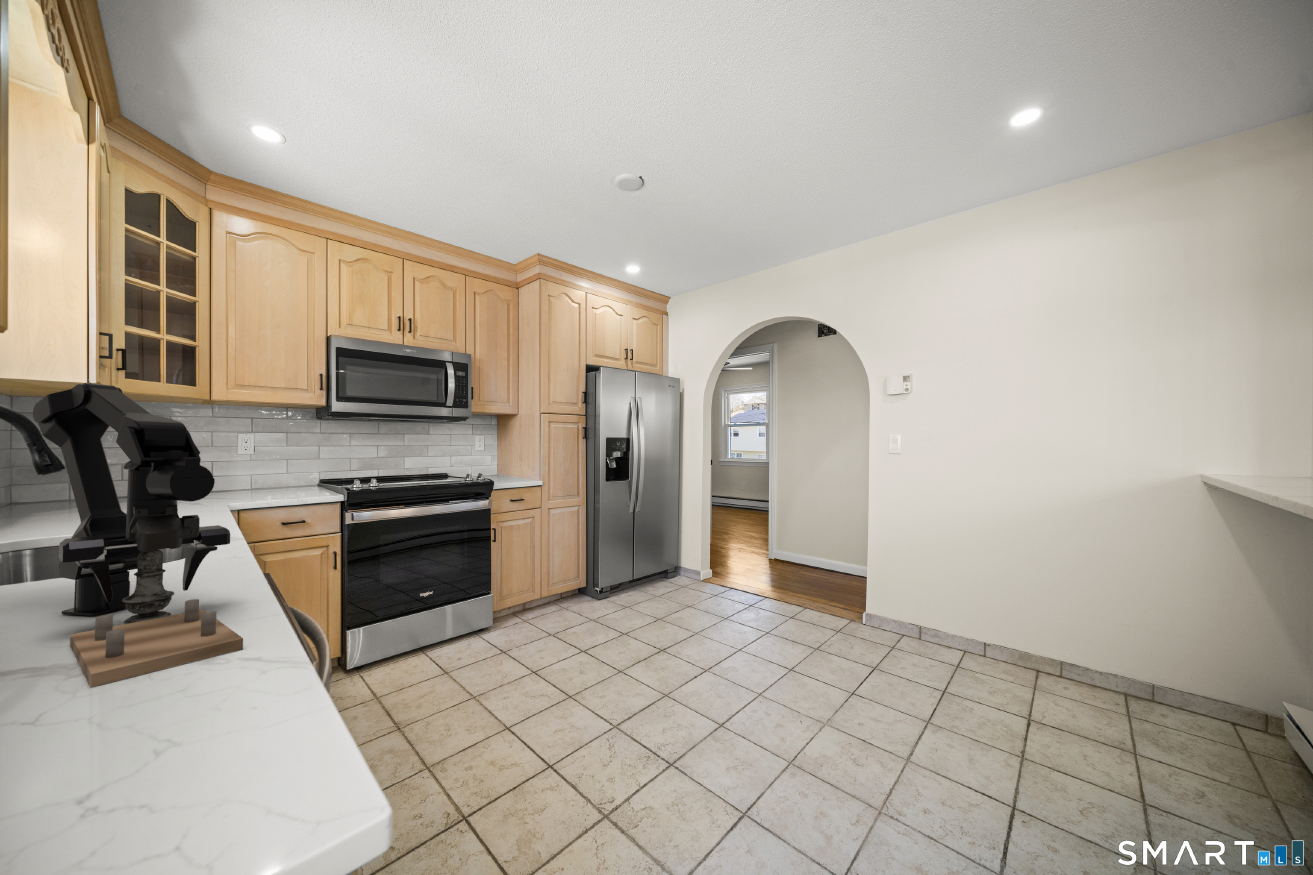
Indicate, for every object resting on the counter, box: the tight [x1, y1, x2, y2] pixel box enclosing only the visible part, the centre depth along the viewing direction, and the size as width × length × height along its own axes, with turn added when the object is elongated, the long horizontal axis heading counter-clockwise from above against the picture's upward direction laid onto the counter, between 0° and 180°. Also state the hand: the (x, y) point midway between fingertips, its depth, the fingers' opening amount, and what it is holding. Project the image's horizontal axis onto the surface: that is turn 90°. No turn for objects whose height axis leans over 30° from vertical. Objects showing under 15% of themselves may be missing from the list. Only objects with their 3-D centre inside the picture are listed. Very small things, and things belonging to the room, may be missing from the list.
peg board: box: [69, 598, 244, 688], centre depth 69 cm, size 20×14×4 cm
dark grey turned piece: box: [122, 549, 175, 624], centre depth 80 cm, size 6×6×12 cm
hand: (148, 595), depth 80 cm, fingers closed on dark grey turned piece, 8 cm apart
